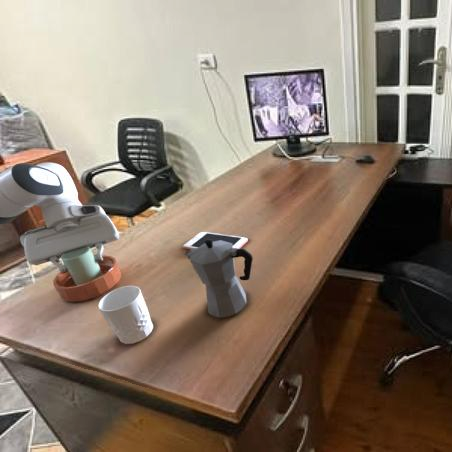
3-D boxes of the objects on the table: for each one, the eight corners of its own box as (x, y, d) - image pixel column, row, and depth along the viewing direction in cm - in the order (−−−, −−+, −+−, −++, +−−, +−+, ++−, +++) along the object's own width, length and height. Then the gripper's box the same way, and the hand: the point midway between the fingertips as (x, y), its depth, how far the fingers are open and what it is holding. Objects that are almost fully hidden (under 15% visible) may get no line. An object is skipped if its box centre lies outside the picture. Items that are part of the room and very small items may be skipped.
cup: (84, 294, 90) (66, 262, 85) (74, 286, 93) (56, 255, 88) (109, 280, 94) (94, 249, 89) (98, 273, 97) (83, 243, 93)
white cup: (115, 352, 73) (95, 316, 68) (118, 327, 79) (100, 293, 74) (156, 337, 75) (139, 302, 70) (156, 315, 81) (141, 281, 77)
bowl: (76, 311, 85) (66, 295, 83) (53, 292, 93) (44, 277, 90) (132, 279, 95) (125, 264, 93) (107, 264, 103) (100, 250, 100)
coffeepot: (192, 318, 80) (167, 252, 71) (210, 291, 88) (189, 229, 79) (257, 319, 77) (239, 252, 68) (269, 291, 85) (255, 228, 77)
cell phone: (202, 233, 114) (201, 231, 114) (248, 240, 108) (248, 237, 107) (183, 248, 107) (182, 245, 106) (231, 256, 101) (231, 253, 100)
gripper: (12, 228, 85) (28, 280, 83) (106, 203, 95) (123, 248, 92) (23, 237, 91) (39, 285, 88) (111, 212, 100) (127, 255, 97)
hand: (82, 266), depth 90 cm, fingers closed on cup, 6 cm apart
